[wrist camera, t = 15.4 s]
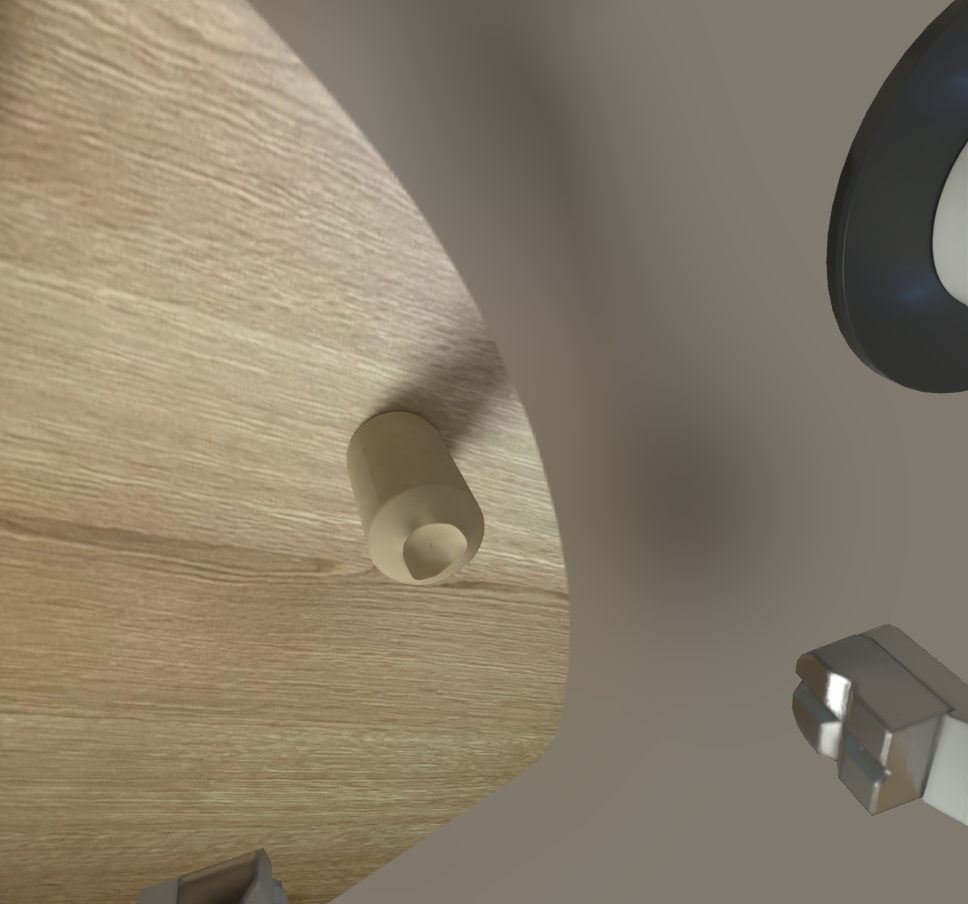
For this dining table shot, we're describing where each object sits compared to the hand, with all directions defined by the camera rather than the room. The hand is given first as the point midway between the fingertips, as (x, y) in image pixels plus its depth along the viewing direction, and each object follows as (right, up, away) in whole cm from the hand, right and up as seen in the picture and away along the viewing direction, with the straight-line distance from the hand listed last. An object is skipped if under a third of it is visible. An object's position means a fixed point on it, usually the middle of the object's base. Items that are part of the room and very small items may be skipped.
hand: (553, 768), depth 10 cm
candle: (-6, +5, +30) cm, 31 cm away
